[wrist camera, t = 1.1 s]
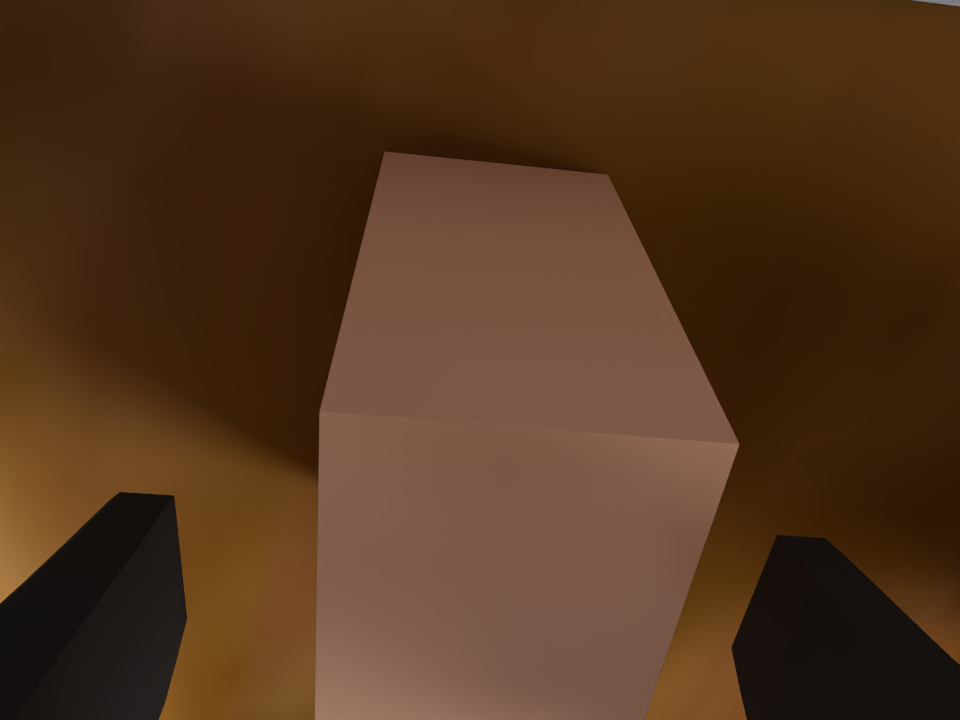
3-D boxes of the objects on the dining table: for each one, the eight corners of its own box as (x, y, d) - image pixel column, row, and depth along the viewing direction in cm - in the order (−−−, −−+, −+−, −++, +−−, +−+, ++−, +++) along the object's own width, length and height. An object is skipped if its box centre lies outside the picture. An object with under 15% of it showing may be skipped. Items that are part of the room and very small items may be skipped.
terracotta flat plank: (607, 173, 13) (739, 443, 7) (540, 509, 16) (588, 879, 10) (384, 150, 13) (318, 410, 7) (365, 497, 16) (312, 870, 10)
